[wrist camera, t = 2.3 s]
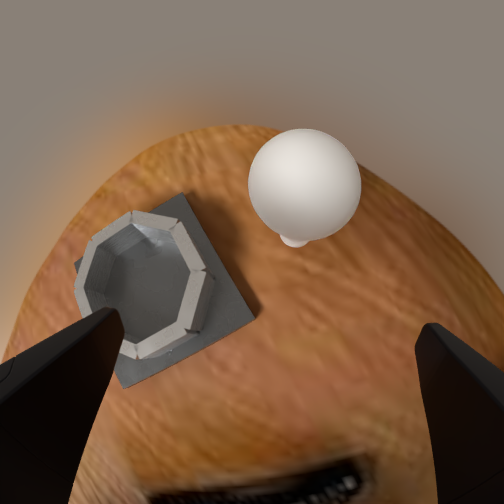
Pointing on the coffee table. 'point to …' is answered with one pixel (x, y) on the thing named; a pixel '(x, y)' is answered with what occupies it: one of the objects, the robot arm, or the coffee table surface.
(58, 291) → the coffee table surface
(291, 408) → the coffee table surface
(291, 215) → the lightbulb
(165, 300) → the lamp base
